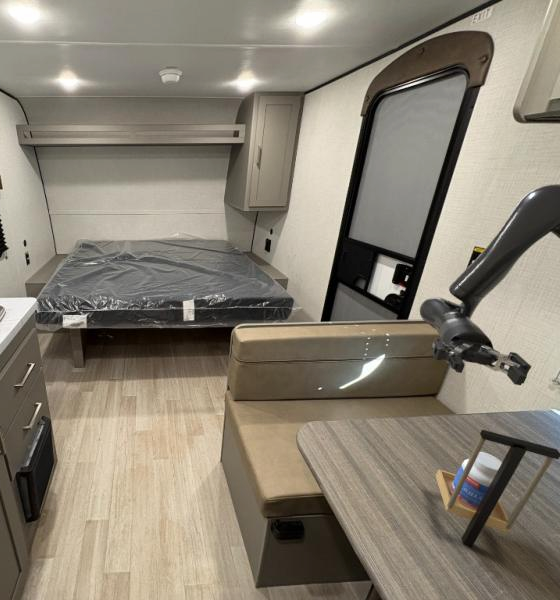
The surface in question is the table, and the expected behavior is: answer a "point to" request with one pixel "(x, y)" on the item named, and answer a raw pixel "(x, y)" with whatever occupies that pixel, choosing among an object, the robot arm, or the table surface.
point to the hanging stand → (493, 486)
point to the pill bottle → (476, 479)
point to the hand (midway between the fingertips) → (489, 374)
